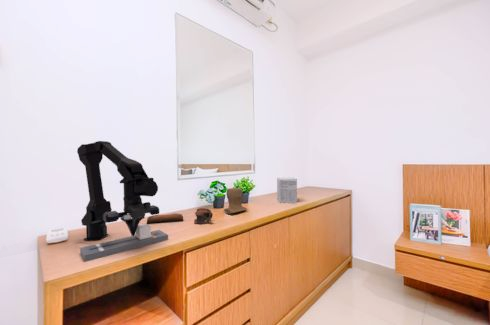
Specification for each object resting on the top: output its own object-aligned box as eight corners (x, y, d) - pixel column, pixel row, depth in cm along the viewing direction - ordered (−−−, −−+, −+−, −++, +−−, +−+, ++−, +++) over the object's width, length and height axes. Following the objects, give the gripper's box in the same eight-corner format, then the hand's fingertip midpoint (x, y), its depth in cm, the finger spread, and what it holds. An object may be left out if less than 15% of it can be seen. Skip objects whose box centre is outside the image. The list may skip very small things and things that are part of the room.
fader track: (84, 261, 72) (84, 255, 72) (80, 253, 79) (80, 247, 79) (168, 239, 92) (168, 234, 92) (159, 234, 98) (159, 229, 98)
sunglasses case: (183, 217, 127) (183, 208, 123) (183, 226, 121) (183, 217, 118) (149, 220, 122) (147, 210, 119) (147, 229, 116) (146, 220, 113)
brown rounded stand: (236, 208, 148) (235, 185, 147) (249, 211, 140) (249, 187, 139) (218, 212, 136) (218, 188, 136) (232, 216, 128) (231, 189, 128)
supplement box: (297, 202, 164) (297, 178, 164) (279, 203, 164) (279, 179, 164) (293, 199, 177) (293, 177, 177) (277, 199, 177) (276, 177, 177)
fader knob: (140, 239, 85) (139, 228, 85) (134, 235, 90) (134, 225, 90) (151, 237, 88) (151, 226, 88) (146, 233, 93) (145, 223, 93)
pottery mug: (188, 224, 115) (191, 208, 119) (202, 228, 121) (204, 213, 125) (205, 221, 108) (207, 205, 112) (218, 226, 115) (220, 210, 119)
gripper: (109, 200, 74) (110, 248, 74) (164, 194, 87) (165, 234, 87) (102, 197, 82) (103, 239, 83) (153, 191, 95) (154, 228, 95)
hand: (133, 235), depth 87 cm, fingers closed
